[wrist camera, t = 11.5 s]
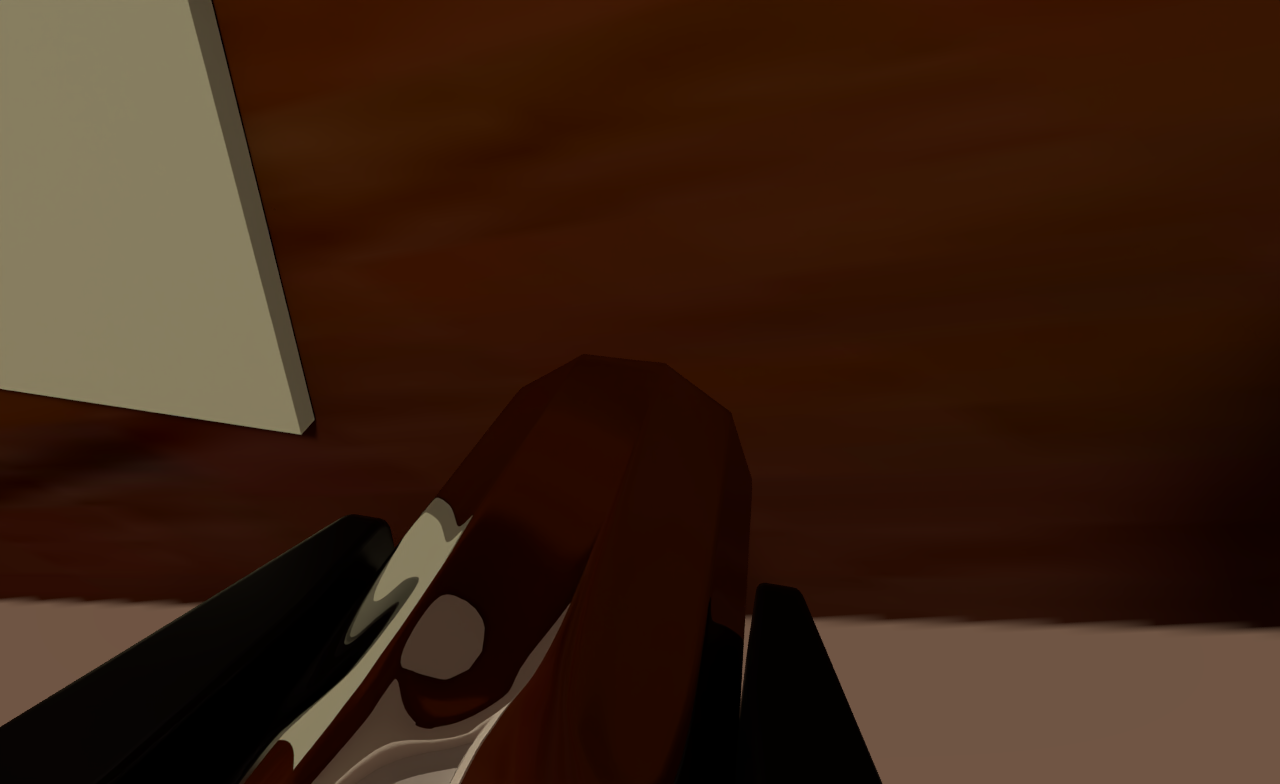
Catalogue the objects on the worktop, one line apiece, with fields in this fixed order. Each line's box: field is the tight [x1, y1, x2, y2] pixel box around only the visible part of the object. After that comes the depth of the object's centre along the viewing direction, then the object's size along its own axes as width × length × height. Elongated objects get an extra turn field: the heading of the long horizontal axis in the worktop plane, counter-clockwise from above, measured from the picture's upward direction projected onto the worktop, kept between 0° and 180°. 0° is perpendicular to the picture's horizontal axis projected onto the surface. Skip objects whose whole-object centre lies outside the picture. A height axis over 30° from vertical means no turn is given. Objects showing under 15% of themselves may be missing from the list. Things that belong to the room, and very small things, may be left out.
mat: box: [0, 0, 315, 435], centre depth 14 cm, size 8×8×1 cm
